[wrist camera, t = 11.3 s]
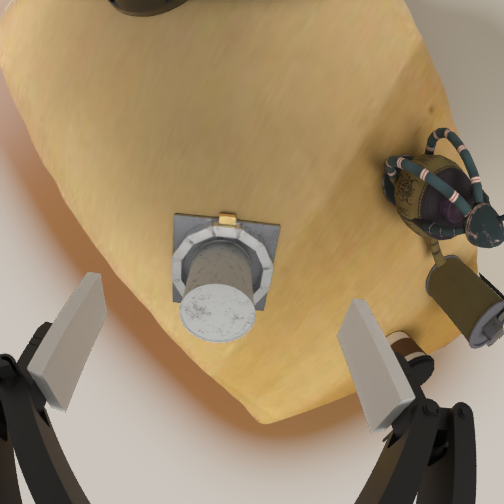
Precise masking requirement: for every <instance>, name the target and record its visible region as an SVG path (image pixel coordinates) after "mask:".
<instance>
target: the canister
mask: <svg viewBox="0 0 504 504" xmlns="http://www.w3.org/2000/svg"><path fill="white" fill-rule="evenodd" d="M444 258H445V260H446V263H444V264H443V265H442V266H440V267H438V268H437V266H436V264H435V265H434V267H433V268H432V269H431V271H430V273H429V275H428V277H427V282H426V290H427V292H428V294H429V295H430V296H431V297H433V298H434V300H435V301H436V302H437V303H438V304H439V306H440V307H441V308H442V309H443V310H444V312H445V313H446V314H447V315H448V316H449V318H450V319H451V320H452V321H453V323H454V324H455V325H456V326H457V328H458V329H459V330H460V331H461V333H462V334H463V335H464V336H465V338H466V339H467V341H468V342H469V345H470V347H471V348H480V347H482V346H484V345H485V344H487V345H488V346H490V345H492V344H493V343H494V342H495V341H496V340H497V339H498V338H499V339H500V337H502V336H503V335H504V331H503V325H504V301H503V300H504V296H503V295H502V293H501V292H499V290H497V289H496V288H495V287H494V286H493V285H492V284H491V283H490V282H489V281H488V280H487V279H485V277H484V276H482V275H481V274H480V273H479V275H480V277H478V276H477V275H476V274H475V273H474V272H473V271H472V270H471V269H470V268H469V267H467V266H466V265H465V264H464V263H463V262H462V261H461V260H460V259H459V258H458V257H457V256H454V255H449V256H446V257H444ZM488 285H489V286H490V287H491V288H492V289H493V290H494V291H495V292H496V293H497V294H498V295H499V296H500V297H501V298H502V299H503V300H502V299H501V298H500V297H499V296H498V295H497V294H496V293H495V292H494V291H493V290H492V289H491V288H490V287H489V286H488ZM490 343H491V344H490Z"/></svg>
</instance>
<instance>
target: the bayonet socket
mask: <svg viewBox="0 0 504 504" xmlns="http://www.w3.org/2000/svg"><path fill="white" fill-rule="evenodd" d="M279 231H280V225H279V224H270V223H262V222H253V221H245V220H236V215H232V214H222V213H220V217H219V218H217V217H208V216H198V215H188V214H178V213H175V215H174V234H173V256H172V282H173V302H177V303H181V301H182V299H183V295H184V291H185V287H186V283H187V279H188V276H189V272H190V268H191V264H192V259H193V256H194V254H195V252H196V251H197V250H198V249H199V248H200V247H201V246H202V245H204V244H205V243H207V242H210V241H213V240H228V241H231V242H234V243H236V244H238V245H239V246H241V247H242V248H243V249H244V250H245V251H246V253H247V254H248V256H249V258H250V261H251V277H252V289H253V300H254V307H255V310H260V311H263V310H264V306H265V301H266V296H267V292H268V291H269V288H270V283H271V279H272V274H273V269H274V268H273V262H274V257H275V252H276V247H277V242H278V236H279Z"/></svg>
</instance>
